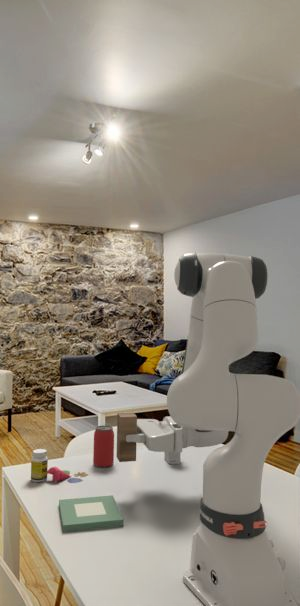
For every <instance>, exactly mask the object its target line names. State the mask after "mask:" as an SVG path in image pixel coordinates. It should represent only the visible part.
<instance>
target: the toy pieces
mask: <svg viewBox="0 0 300 606" xmlns="http://www.w3.org/2000/svg"><path fill="white" fill-rule="evenodd" d="M48 474H49V475H52V481H53V482H54V483H58V482H59V481H63V480H67V481H66V482H67V483H69V484H77V483H81V482H83V481H84V480H83V479H81V478H85V477H88V476H89V474H88V473H87V472H84V471H83V472H80V471H78V472H76V473H74V474H73V477H72V476H71V475H70V474H71V471H70V470H61V469H60V468H59V467H57V466H52V467H50V468H49V469H47V475H48ZM79 477H80V478H79Z"/></svg>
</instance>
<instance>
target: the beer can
mask: <svg viewBox="0 0 300 606" xmlns="http://www.w3.org/2000/svg"><path fill="white" fill-rule="evenodd" d="M93 433H94V434H93V455H92V458H93V461H92V462H93V465H94V466H95V467H97V468H109V467H111V466H113V464H114V460H115V459H114V458H115V455H114V454H115V452H114V451H115V432H114V428H113V427H112V425H111V426H110V425H97V426H96V427H95V430H94V432H93Z"/></svg>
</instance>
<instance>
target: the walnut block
mask: <svg viewBox="0 0 300 606" xmlns="http://www.w3.org/2000/svg"><path fill="white" fill-rule="evenodd" d="M137 419H138V416H137V415H136V414H135V413H134V412H118V413H117V417H116V459H117V461H118V462H119V463H126V462H136V461H137V442H127V441H126V440H125V435H126V434H137Z"/></svg>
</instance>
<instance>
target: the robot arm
mask: <svg viewBox="0 0 300 606" xmlns="http://www.w3.org/2000/svg"><path fill="white" fill-rule="evenodd" d="M175 265H176V266H175V268H174V274H173V275H174V277H173V278H174V281H175V285H176V289H177V291H179V293H180V294H181V295H184V296H187V297H190V298H192V300H191V306H190V315H189V325H188V326H189V328H188V329H189V330H188V335H187V340H186V346H185V350H184V357H183V363H182V368H181V369H182V370H181V372H180V374H179V375H178V376H177V377H175V379H174V380H173V381H172V382H171V384H170V386H169V387H168V391H167V395H166V406H167V411H168V414H169V416H168V415H167V416H164V417H163V419H162V421H161V420H158V419H155V418H137V434H126V435H125V440H126V441H127V442H136V444H137V443H138V444H143V445H144V446H145V447H146V448H147V449H148V451H151V452H154V453H155V452H156V453H157V452H159V453H161V452H162V453H164V452H171V451H173V452H175V453H180V454H182V453H183V449H186V448H189V447H194V448H205V447H206V448H207V447H214V446H217V445H218V446H219V445H221V444H223V443H224V442H225V441H226V440H227V439H228V436H229V432H233V433H234V435H233V437H232V438H231V440H230V441H228V442H227V443H226V444H224V445H222V446H220V447H218V448H216V449H214V450H212V451H211V452H210V453H209V454H208V455H207V457H206V458H205V460H204V462H203V469H202V471H203V473H202V496H201V498H200V504H199V520H200V523H199V525H198V527H197V528H196V530H195V531H194V533H193V534H192V539H191V540H192V542H191V551H190V562H189V563H190V564H189V568H188V569H187V570H186V571H184V573H183V575H182V582H183V583H184V584H185V585H186V586H187V587H188V589H190V590H191V592H192V593H194V596H196V597H197V598H198V599H199V600H200V601H201V602H202V603H203V605H204V606H205V605H206V606H298V604H297V602H296V601H295V599H294V598H293V595H292V594H291V593H290V592H291V591H290V590H289V588H288V587H287V585H286V580H285V574H284V572H285V571H286V567H287V566H286V562H285V561H286V560H285V558H284V557H282V556H277V553H276V552H275V549H274V542H273V540H270V539H269V537H268V534H267V532H266V528H267V525H266V523H267V521H266V520H265V512H264V508H263V504H262V503H261V493H262V480H263V471H264V466H265V461H266V459H267V457H268V454H269V453H270V451H271V449H272V448H273V446H274V445H275V443H276V442H277V441H278V440H279V439H280V438H281V437H282V436H283V435H285V434H286V433H287V432H288V431H290V430H292V429H293V428H294V427H295V426H296V425H297V423H298V421H299V420H300V391H299V390H298V387H296V385H295V384H294V382H292V381H291V380H290V379H286V378H283V377H280V376H275V375H269V374H256V373H255V374H251V373H248V374H247V373H246V374H245V373H234V372H233V373H232V372H230V369H229V368H230V365H232V364H233V363H235V362H236V361H238V360H241V359H243V358H245V357H247V356H249V355H250V354H251V353H253V351H254V350H255V349H256V347H257V345H258V342H259V331H258V327H259V326H258V317H257V313H258V312H257V301H256V299H259V298H261V297H262V295H264V294H265V292H266V288H267V286H268V283H269V274H268V268H267V265H266V262H265V261H264V260H263V259H261V258H259V257H256V256H252V255H248V256H244V255H238V254H231V253H223V252H203V253H202V252H201V253H196V252H188V253H184V254H182V255H181V256H180V257H179V258H178V261H177V263H176V264H175Z"/></svg>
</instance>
